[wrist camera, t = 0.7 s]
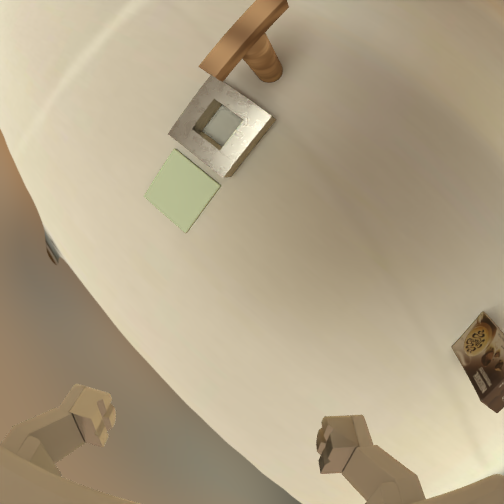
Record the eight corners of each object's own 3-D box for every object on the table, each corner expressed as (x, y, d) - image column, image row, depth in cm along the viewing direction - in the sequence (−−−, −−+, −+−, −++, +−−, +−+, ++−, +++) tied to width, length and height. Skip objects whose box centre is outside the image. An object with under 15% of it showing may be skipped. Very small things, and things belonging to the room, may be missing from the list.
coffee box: (467, 360, 46) (496, 415, 31) (450, 346, 46) (479, 403, 31) (498, 326, 43) (536, 374, 28) (482, 309, 43) (522, 358, 28)
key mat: (175, 148, 48) (174, 148, 47) (221, 185, 48) (219, 185, 47) (145, 195, 51) (143, 196, 51) (186, 232, 51) (185, 233, 51)
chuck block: (220, 80, 43) (211, 74, 39) (276, 119, 43) (271, 116, 39) (179, 135, 47) (168, 134, 43) (231, 176, 47) (222, 177, 43)
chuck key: (283, 37, 39) (262, -14, 24) (303, 50, 39) (292, 1, 24) (235, 92, 43) (193, 63, 28) (255, 106, 43) (220, 81, 28)
